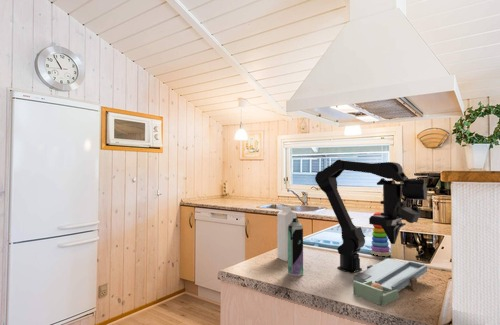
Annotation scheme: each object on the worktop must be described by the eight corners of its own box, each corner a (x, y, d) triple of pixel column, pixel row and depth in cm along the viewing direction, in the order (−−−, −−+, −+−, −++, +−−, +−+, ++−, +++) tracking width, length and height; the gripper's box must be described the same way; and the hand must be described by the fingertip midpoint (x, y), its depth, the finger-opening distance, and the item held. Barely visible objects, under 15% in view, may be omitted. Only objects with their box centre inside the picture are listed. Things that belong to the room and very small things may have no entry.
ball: (370, 295, 90) (366, 288, 89) (375, 286, 92) (371, 278, 90) (381, 299, 87) (376, 292, 86) (386, 290, 89) (382, 282, 87)
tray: (353, 294, 90) (353, 281, 90) (370, 288, 95) (370, 275, 95) (381, 305, 82) (381, 291, 82) (398, 298, 87) (398, 284, 87)
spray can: (300, 277, 104) (299, 219, 105) (285, 274, 107) (285, 218, 108) (305, 272, 109) (304, 217, 110) (291, 270, 112) (290, 216, 113)
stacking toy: (384, 252, 137) (384, 210, 137) (393, 257, 129) (393, 213, 129) (367, 252, 137) (367, 211, 137) (375, 257, 129) (375, 213, 129)
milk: (285, 261, 123) (284, 207, 124) (277, 257, 128) (276, 206, 129) (297, 259, 126) (296, 206, 126) (288, 255, 131) (288, 205, 132)
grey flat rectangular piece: (354, 280, 100) (353, 273, 100) (387, 261, 111) (387, 255, 111) (394, 294, 89) (393, 286, 88) (427, 271, 100) (426, 264, 100)
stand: (367, 275, 106) (367, 266, 106) (371, 274, 107) (371, 264, 107) (412, 290, 93) (412, 279, 93) (416, 288, 94) (416, 278, 94)
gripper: (400, 201, 92) (401, 253, 91) (430, 198, 102) (430, 244, 102) (367, 199, 101) (368, 245, 100) (398, 196, 111) (398, 238, 111)
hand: (392, 243), depth 103 cm, fingers closed
